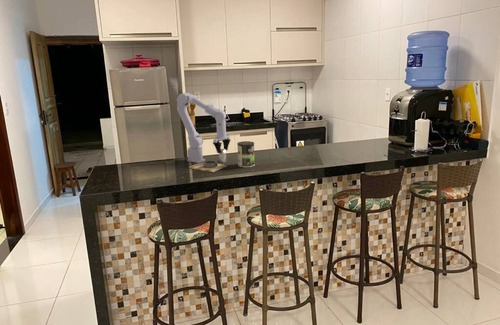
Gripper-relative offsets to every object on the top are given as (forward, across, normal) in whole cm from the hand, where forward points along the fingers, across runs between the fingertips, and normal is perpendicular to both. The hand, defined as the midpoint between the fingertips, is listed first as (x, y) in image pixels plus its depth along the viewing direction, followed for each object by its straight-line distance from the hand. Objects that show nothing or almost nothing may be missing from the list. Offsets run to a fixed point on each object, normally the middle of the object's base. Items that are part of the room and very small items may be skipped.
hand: (222, 151), depth 233 cm
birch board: (+7, -15, 0) cm, 16 cm away
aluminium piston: (+7, 0, 0) cm, 7 cm away
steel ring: (+7, -15, -2) cm, 16 cm away
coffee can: (+7, 0, -18) cm, 19 cm away
